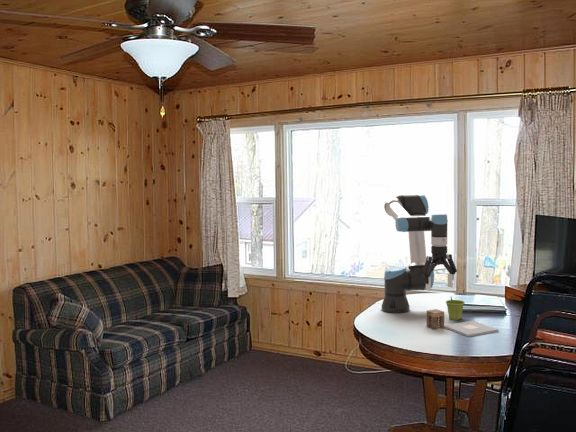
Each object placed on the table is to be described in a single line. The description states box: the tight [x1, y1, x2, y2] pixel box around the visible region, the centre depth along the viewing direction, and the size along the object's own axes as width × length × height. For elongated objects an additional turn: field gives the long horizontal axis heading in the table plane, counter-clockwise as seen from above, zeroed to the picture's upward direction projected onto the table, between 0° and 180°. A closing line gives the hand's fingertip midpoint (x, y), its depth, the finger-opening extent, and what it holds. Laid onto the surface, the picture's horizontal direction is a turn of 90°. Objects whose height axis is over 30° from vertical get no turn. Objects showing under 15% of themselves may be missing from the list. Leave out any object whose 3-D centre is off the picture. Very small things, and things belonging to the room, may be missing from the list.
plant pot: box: [445, 299, 466, 321], centre depth 294 cm, size 9×9×9 cm
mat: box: [443, 320, 499, 338], centre depth 274 cm, size 18×18×1 cm
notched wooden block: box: [425, 308, 445, 330], centre depth 279 cm, size 6×6×8 cm
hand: (439, 288), depth 277 cm, fingers open, 13 cm apart
